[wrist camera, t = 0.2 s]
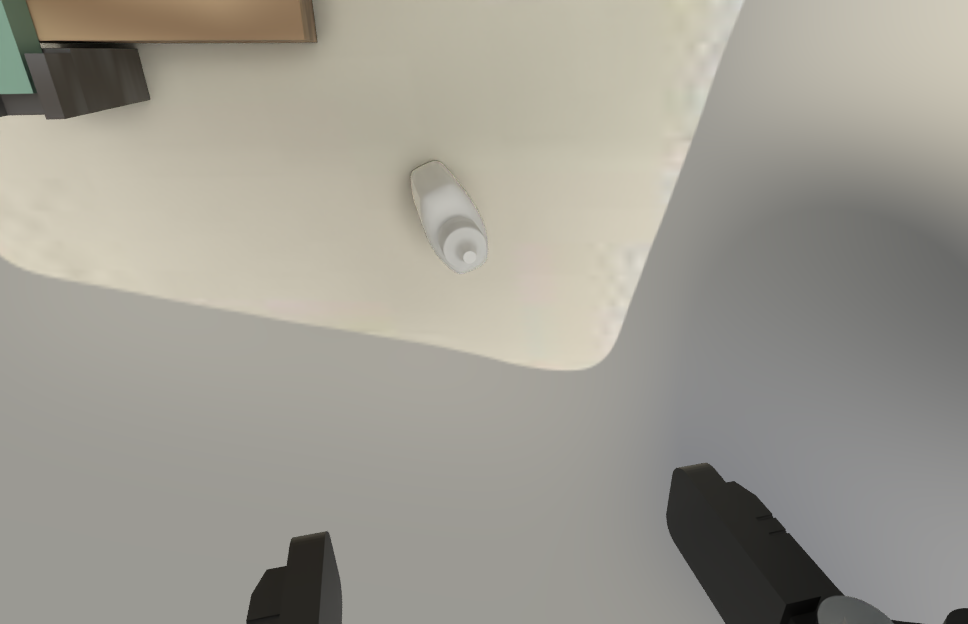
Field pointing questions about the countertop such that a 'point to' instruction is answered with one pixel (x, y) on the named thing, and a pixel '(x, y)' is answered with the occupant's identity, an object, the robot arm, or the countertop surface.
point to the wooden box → (97, 77)
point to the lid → (167, 20)
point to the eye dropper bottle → (449, 218)
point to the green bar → (16, 47)
